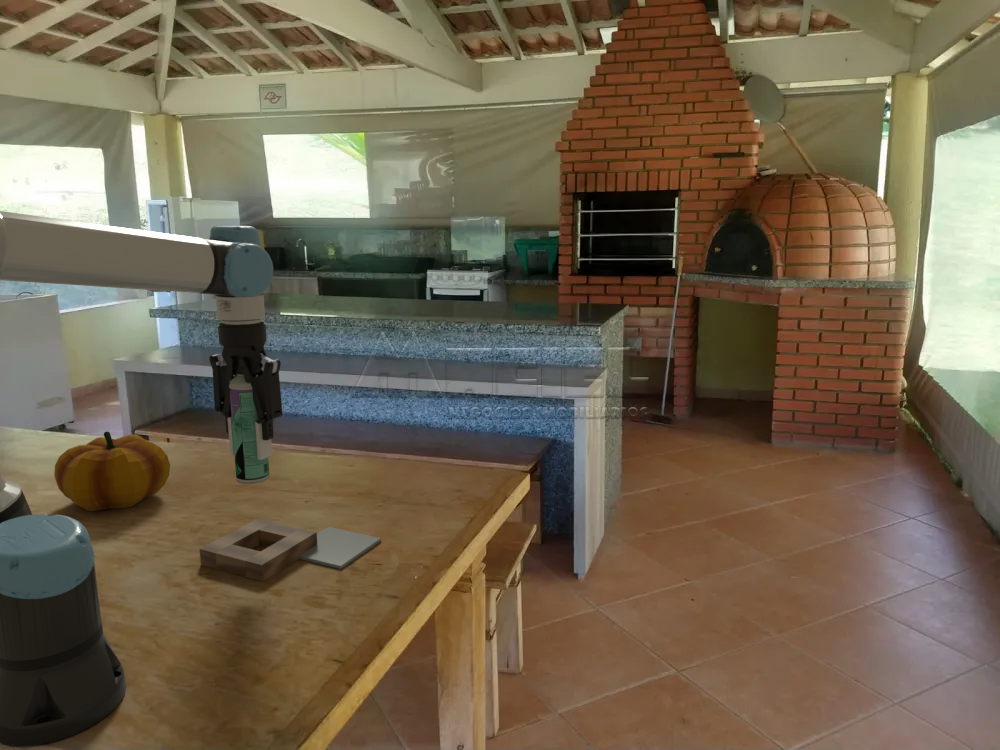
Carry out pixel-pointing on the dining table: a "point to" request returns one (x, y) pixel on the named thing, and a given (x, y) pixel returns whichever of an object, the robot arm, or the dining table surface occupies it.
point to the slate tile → (338, 547)
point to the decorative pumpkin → (111, 472)
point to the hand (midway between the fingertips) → (251, 454)
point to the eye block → (242, 560)
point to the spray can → (245, 433)
